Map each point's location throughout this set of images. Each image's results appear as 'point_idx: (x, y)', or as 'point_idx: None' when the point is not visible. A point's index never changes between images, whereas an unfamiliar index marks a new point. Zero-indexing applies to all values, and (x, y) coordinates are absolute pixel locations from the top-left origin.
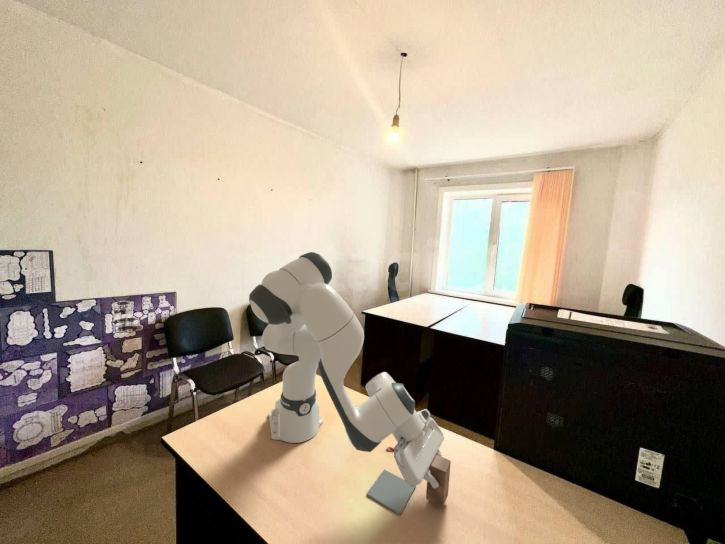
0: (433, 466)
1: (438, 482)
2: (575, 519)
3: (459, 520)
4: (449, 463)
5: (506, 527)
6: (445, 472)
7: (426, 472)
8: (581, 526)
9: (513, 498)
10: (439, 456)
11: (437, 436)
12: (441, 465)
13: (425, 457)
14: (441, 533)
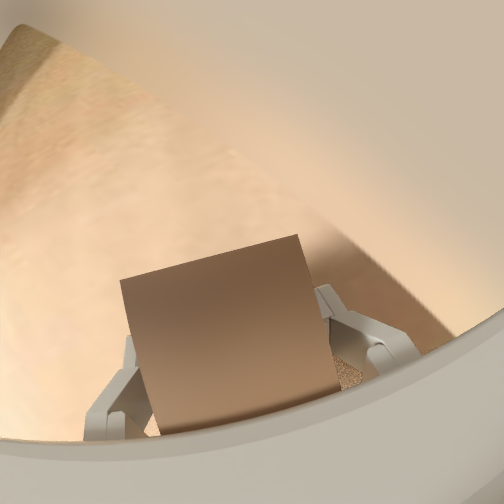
0: (333, 359)
1: None
2: (39, 70)
3: (239, 226)
4: (161, 270)
5: (146, 123)
6: (296, 237)
7: (421, 355)
8: (50, 59)
9: (40, 158)
10: (156, 396)
11: (10, 496)
12: (254, 312)
13: (411, 446)
14: (337, 245)
